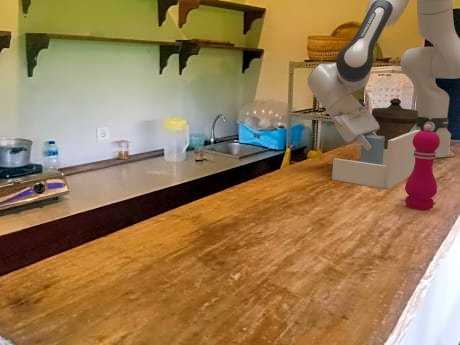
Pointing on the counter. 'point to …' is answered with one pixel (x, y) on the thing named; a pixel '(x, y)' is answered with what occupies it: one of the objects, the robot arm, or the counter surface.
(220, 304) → the counter surface
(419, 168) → the pepper mill
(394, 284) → the counter surface
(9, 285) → the counter surface
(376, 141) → the block
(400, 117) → the wooden container
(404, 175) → the open box
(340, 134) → the robot arm
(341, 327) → the counter surface
